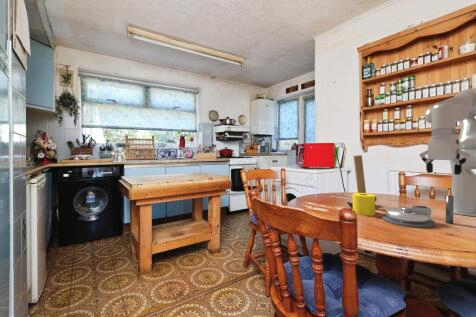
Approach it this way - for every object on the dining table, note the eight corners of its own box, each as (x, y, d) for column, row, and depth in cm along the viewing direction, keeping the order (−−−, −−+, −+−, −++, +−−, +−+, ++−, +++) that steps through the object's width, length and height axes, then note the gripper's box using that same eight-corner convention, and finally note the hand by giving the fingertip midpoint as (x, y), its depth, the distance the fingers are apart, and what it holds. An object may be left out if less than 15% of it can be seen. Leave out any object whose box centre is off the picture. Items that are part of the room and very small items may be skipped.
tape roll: (376, 212, 119) (376, 194, 118) (372, 216, 111) (372, 197, 111) (355, 209, 125) (355, 192, 125) (350, 213, 118) (350, 195, 118)
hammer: (356, 214, 124) (350, 159, 121) (348, 212, 129) (341, 159, 125) (377, 202, 134) (371, 152, 131) (368, 201, 138) (363, 152, 135)
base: (398, 213, 116) (398, 211, 116) (444, 223, 99) (444, 221, 99) (372, 218, 109) (372, 215, 108) (418, 230, 91) (418, 227, 91)
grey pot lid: (391, 221, 99) (391, 209, 99) (382, 212, 114) (382, 201, 114) (437, 225, 93) (437, 211, 93) (421, 215, 108) (421, 203, 108)
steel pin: (447, 222, 102) (447, 194, 101) (454, 223, 99) (454, 195, 99) (444, 222, 101) (444, 195, 100) (451, 224, 98) (451, 196, 98)
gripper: (474, 131, 92) (474, 174, 92) (425, 134, 108) (425, 171, 108) (465, 131, 89) (464, 175, 89) (415, 134, 105) (415, 172, 105)
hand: (443, 173), depth 99 cm, fingers open, 9 cm apart
